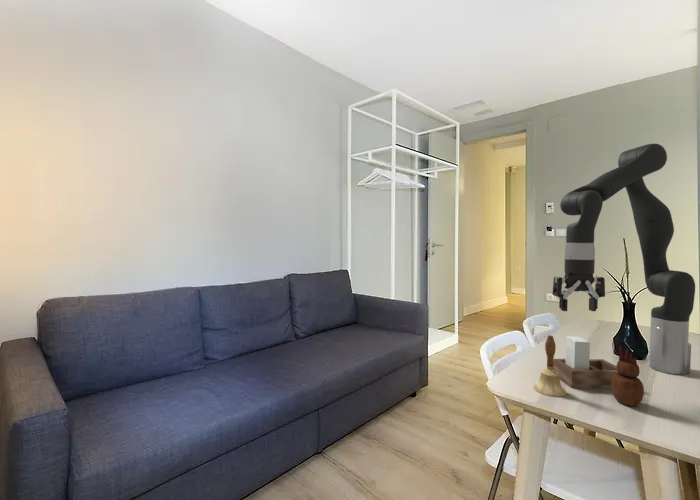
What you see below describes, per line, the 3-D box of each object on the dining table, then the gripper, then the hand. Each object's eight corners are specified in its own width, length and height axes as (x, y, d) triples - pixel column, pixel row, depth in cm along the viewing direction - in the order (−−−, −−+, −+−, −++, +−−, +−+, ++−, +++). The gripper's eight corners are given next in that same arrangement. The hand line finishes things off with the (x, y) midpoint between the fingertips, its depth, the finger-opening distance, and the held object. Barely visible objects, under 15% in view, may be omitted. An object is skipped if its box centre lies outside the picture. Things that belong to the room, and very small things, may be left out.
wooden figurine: (605, 397, 93) (607, 343, 93) (625, 396, 94) (627, 343, 93) (627, 409, 86) (630, 352, 86) (648, 408, 87) (650, 351, 86)
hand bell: (566, 399, 92) (568, 341, 91) (532, 392, 96) (533, 337, 95) (566, 388, 99) (567, 334, 98) (534, 381, 103) (535, 330, 103)
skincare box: (589, 382, 100) (590, 342, 100) (573, 381, 101) (574, 341, 101) (579, 374, 106) (580, 336, 106) (564, 373, 107) (565, 335, 107)
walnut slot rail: (602, 374, 108) (602, 359, 108) (627, 388, 99) (627, 371, 98) (552, 374, 109) (552, 358, 109) (571, 387, 99) (572, 371, 99)
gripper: (594, 257, 106) (593, 308, 106) (548, 257, 106) (547, 308, 107) (612, 258, 98) (611, 313, 99) (563, 258, 99) (561, 313, 99)
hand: (578, 310), depth 103 cm, fingers open, 8 cm apart
